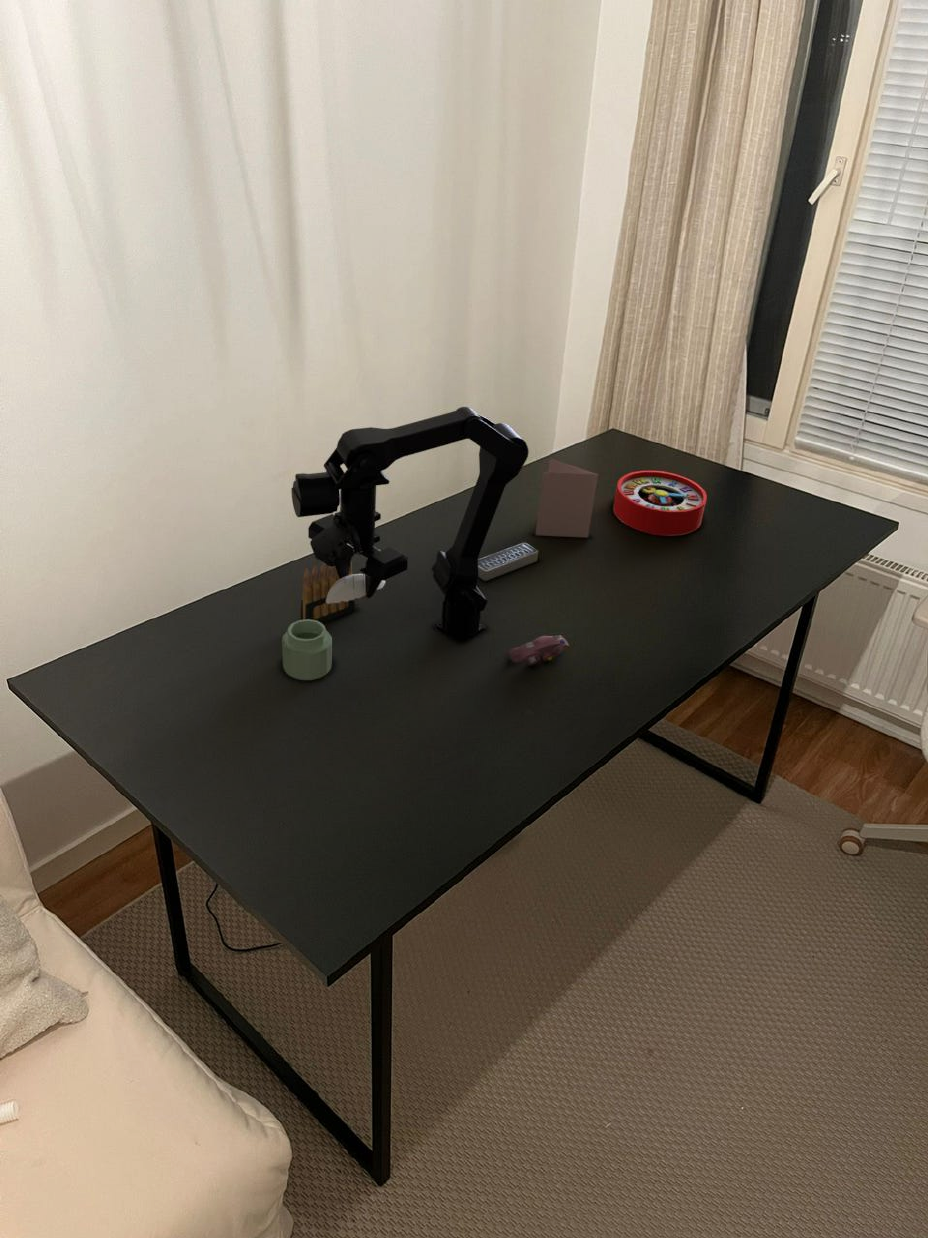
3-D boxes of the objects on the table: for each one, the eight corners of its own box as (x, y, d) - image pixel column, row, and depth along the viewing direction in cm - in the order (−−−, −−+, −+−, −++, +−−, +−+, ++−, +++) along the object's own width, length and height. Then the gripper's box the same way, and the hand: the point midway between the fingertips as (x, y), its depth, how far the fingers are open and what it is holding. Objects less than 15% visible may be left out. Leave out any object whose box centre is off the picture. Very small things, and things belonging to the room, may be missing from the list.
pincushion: (374, 575, 176) (375, 548, 173) (395, 591, 172) (396, 563, 169) (316, 596, 169) (316, 568, 166) (337, 613, 166) (337, 584, 163)
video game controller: (515, 676, 176) (528, 657, 170) (504, 654, 178) (517, 635, 172) (562, 663, 180) (576, 645, 174) (552, 642, 182) (565, 623, 176)
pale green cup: (341, 666, 172) (341, 631, 168) (304, 686, 167) (303, 650, 163) (310, 645, 176) (309, 610, 172) (273, 664, 171) (271, 628, 167)
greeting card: (589, 535, 216) (599, 473, 208) (573, 549, 211) (583, 485, 203) (543, 519, 221) (551, 457, 213) (527, 532, 216) (534, 469, 207)
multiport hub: (470, 571, 201) (471, 561, 199) (523, 551, 209) (524, 541, 208) (484, 581, 198) (485, 571, 197) (538, 560, 206) (539, 550, 205)
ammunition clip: (305, 628, 181) (304, 572, 174) (300, 623, 182) (299, 567, 175) (355, 610, 186) (355, 555, 180) (349, 605, 188) (350, 550, 181)
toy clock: (612, 467, 232) (698, 473, 232) (608, 490, 235) (693, 496, 236) (622, 508, 215) (714, 515, 216) (618, 532, 219) (708, 538, 219)
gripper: (281, 501, 161) (284, 583, 170) (359, 547, 152) (358, 631, 160) (334, 482, 168) (333, 561, 177) (412, 524, 159) (407, 605, 167)
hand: (356, 589), depth 170 cm, fingers closed on pincushion, 6 cm apart
